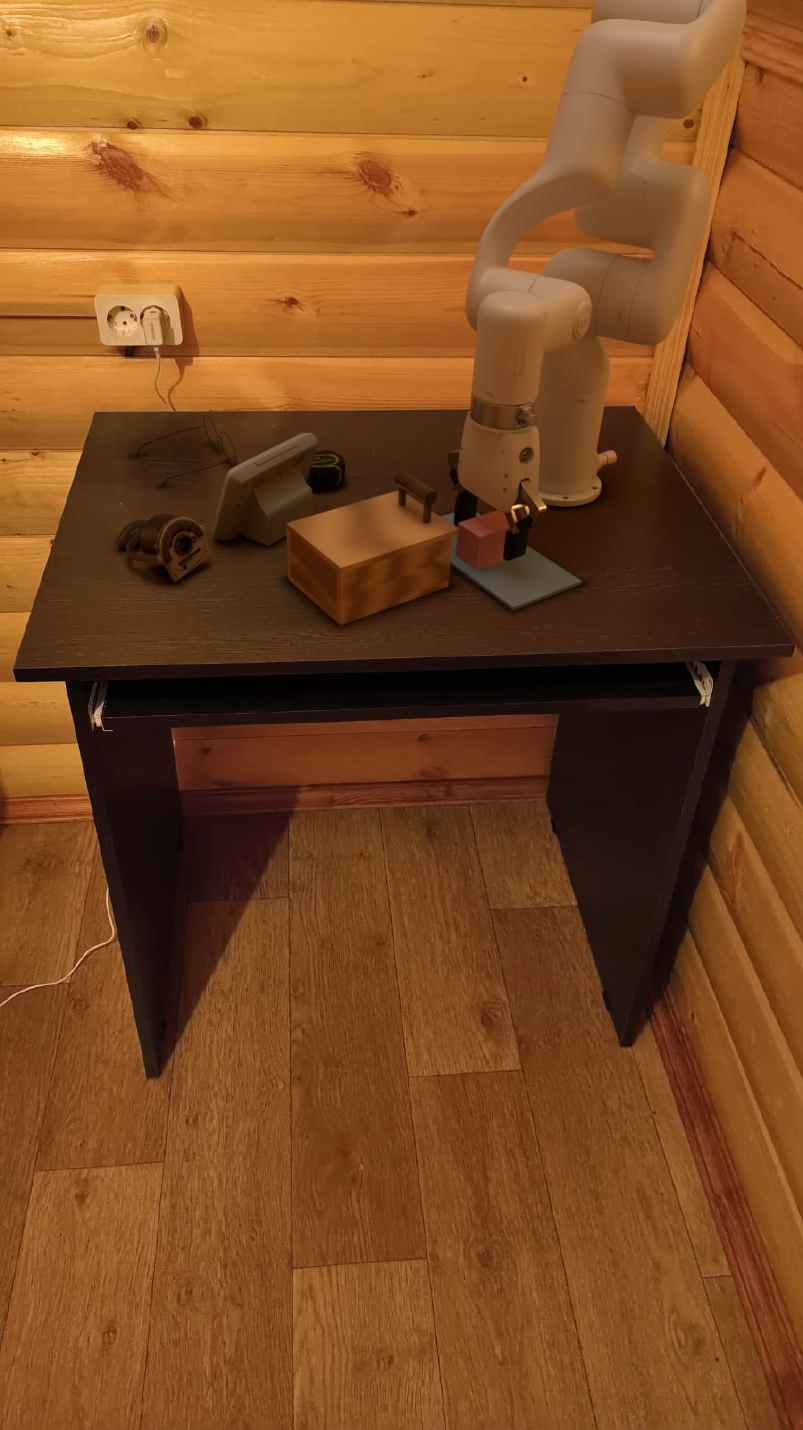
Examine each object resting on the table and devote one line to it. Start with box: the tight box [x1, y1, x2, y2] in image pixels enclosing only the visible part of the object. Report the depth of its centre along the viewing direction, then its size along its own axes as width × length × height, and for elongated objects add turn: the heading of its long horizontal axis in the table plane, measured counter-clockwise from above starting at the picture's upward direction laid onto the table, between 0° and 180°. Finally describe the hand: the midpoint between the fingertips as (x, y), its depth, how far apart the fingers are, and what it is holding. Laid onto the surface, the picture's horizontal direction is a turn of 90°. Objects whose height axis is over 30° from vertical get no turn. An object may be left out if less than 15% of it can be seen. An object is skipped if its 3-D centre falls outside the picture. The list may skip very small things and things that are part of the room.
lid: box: [286, 470, 458, 574], centre depth 118 cm, size 16×12×5 cm
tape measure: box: [306, 449, 346, 489], centre depth 142 cm, size 7×7×4 cm
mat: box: [440, 511, 582, 612], centre depth 129 cm, size 11×22×1 cm, turn 36°
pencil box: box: [286, 530, 453, 626], centre depth 121 cm, size 16×12×7 cm
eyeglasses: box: [135, 414, 237, 487], centre depth 144 cm, size 11×13×5 cm
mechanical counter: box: [116, 513, 213, 583], centre depth 123 cm, size 7×13×10 cm
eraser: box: [456, 509, 510, 570], centre depth 127 cm, size 6×4×5 cm, turn 126°
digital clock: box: [212, 432, 319, 547], centre depth 130 cm, size 16×9×11 cm, turn 133°
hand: (488, 539), depth 128 cm, fingers open, 9 cm apart
